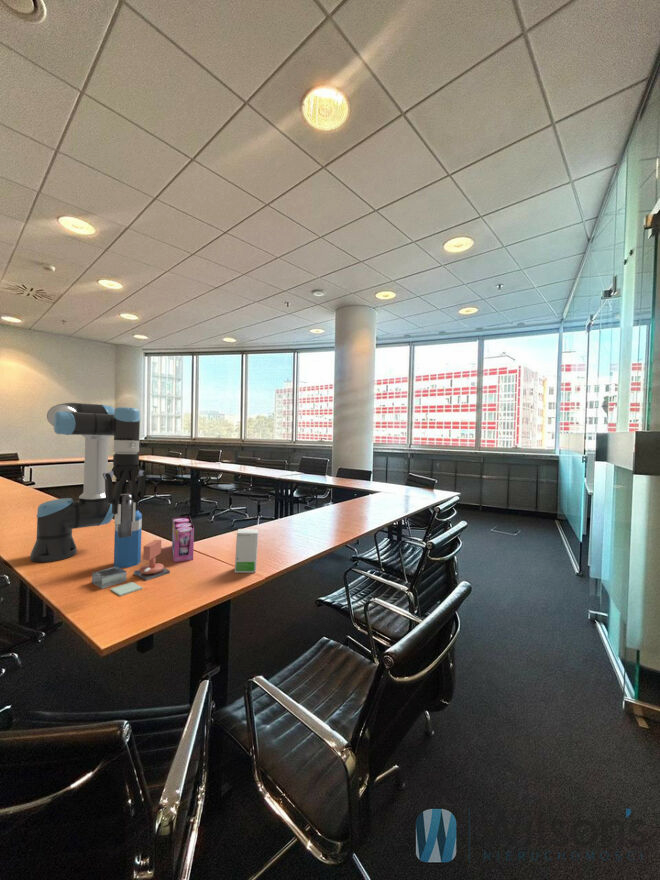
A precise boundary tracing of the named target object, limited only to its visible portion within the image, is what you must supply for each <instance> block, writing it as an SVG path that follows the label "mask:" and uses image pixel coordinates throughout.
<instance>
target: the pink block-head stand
mask: <svg viewBox="0 0 660 880" xmlns="http://www.w3.org/2000/svg"><path fill="white" fill-rule="evenodd" d="M142 551H143V556H142V559H143V560H144V561H149V563H147V564H145V565H143V566H140V568H139V570H140V573H142V574H154V573H158V572H160V571H162V570H163V569H164V568H165V566H164V564H162V563H160V562H159V563H156V557H157V556H158V555H160V554H161V553H162V539H154V540H152V541H150V542H148V543H147V544H145V545H143V550H142Z"/></svg>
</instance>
